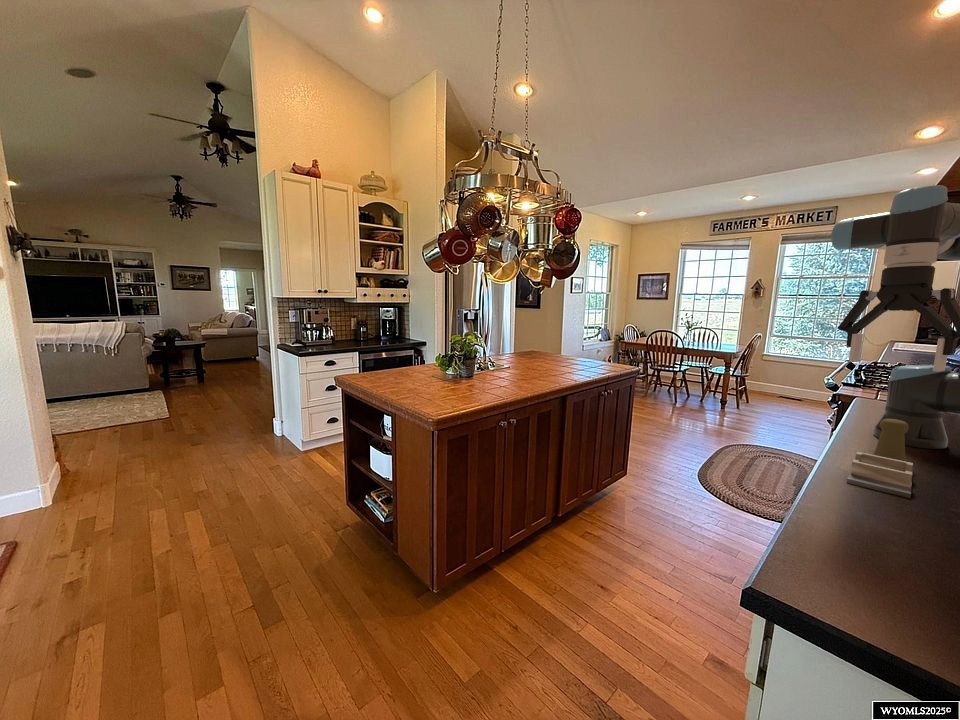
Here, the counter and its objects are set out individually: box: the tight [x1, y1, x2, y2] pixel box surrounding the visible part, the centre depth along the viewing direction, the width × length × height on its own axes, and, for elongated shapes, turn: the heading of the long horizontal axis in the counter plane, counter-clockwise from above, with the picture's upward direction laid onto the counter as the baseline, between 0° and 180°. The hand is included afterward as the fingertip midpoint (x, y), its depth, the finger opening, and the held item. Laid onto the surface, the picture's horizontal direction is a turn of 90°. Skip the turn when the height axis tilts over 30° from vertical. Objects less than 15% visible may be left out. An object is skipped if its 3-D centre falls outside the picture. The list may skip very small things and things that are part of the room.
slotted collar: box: [846, 451, 914, 499], centre depth 92 cm, size 18×10×4 cm, turn 131°
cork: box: [873, 419, 909, 461], centre depth 103 cm, size 6×6×11 cm
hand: (893, 366), depth 84 cm, fingers open, 13 cm apart
